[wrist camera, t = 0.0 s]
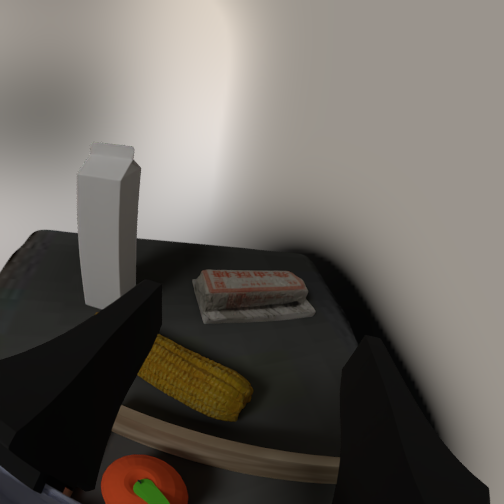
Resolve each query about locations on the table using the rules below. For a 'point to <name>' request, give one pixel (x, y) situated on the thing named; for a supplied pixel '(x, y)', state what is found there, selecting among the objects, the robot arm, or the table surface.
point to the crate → (223, 451)
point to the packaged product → (250, 296)
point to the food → (196, 380)
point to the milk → (108, 222)
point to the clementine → (142, 482)
